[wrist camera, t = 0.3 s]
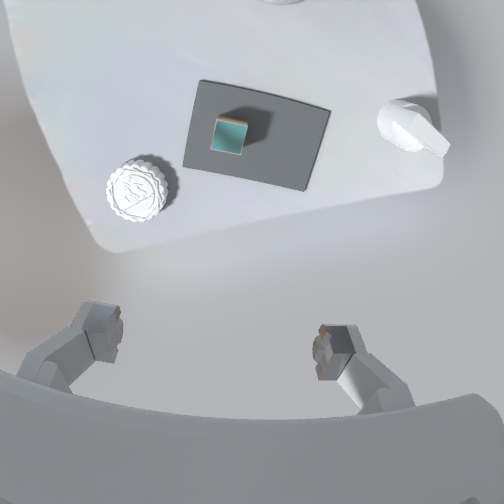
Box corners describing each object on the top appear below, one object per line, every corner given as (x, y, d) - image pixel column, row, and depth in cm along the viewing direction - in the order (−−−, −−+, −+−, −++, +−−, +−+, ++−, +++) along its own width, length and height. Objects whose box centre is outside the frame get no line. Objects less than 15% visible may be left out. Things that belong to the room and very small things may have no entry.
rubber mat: (199, 80, 45) (199, 80, 45) (328, 111, 49) (329, 112, 49) (182, 165, 54) (182, 166, 53) (303, 190, 57) (304, 191, 57)
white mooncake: (148, 147, 52) (143, 152, 49) (180, 199, 58) (176, 207, 55) (100, 177, 54) (93, 184, 51) (132, 225, 60) (127, 233, 57)
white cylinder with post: (369, 126, 51) (398, 141, 41) (392, 90, 46) (426, 97, 36) (401, 152, 53) (433, 172, 43) (423, 117, 49) (459, 131, 39)
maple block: (218, 115, 48) (216, 119, 44) (246, 121, 49) (247, 125, 45) (212, 142, 51) (210, 149, 47) (240, 147, 52) (240, 155, 48)
